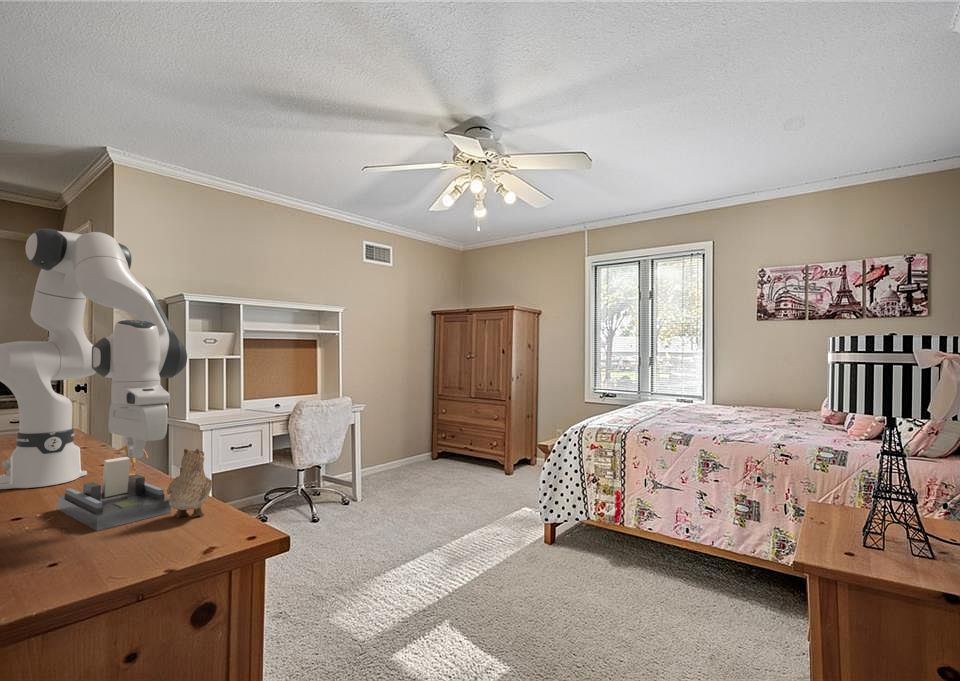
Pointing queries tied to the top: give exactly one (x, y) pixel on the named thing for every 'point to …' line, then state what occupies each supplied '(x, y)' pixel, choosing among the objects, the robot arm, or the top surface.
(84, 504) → the pair of grey bars
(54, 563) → the top surface
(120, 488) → the lever
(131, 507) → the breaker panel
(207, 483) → the figurine
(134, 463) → the figurine
